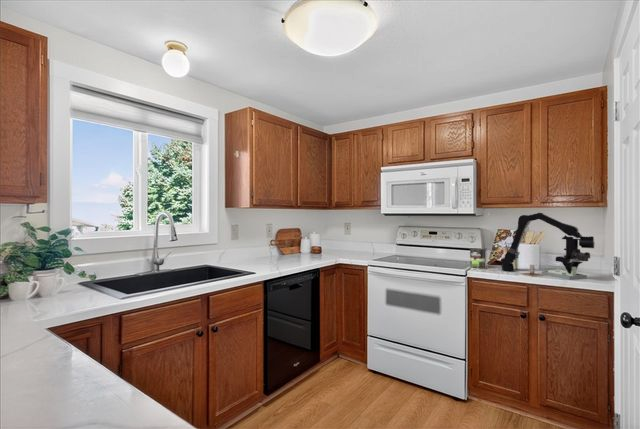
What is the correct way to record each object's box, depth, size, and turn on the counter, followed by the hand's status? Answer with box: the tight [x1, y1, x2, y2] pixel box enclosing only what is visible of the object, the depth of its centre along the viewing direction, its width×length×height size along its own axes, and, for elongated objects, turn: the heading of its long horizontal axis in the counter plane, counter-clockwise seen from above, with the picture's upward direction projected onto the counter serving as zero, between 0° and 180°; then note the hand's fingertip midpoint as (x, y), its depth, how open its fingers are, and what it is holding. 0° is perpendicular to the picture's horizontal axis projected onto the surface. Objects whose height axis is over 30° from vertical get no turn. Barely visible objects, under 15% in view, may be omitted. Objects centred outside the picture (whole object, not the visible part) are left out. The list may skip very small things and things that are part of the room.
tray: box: [541, 270, 588, 281], centre depth 200 cm, size 18×14×3 cm
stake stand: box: [517, 264, 547, 278], centre depth 206 cm, size 11×11×7 cm
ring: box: [547, 266, 577, 276], centre depth 200 cm, size 13×9×6 cm
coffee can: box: [469, 247, 487, 271], centre depth 235 cm, size 10×10×14 cm
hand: (571, 273), depth 195 cm, fingers closed on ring, 3 cm apart
